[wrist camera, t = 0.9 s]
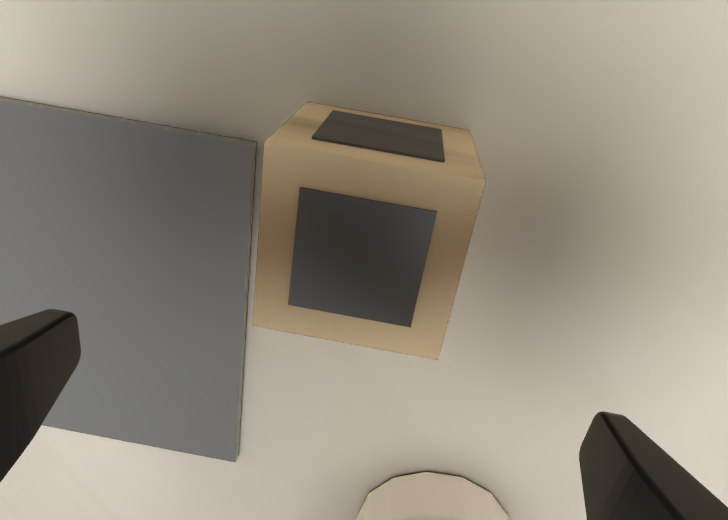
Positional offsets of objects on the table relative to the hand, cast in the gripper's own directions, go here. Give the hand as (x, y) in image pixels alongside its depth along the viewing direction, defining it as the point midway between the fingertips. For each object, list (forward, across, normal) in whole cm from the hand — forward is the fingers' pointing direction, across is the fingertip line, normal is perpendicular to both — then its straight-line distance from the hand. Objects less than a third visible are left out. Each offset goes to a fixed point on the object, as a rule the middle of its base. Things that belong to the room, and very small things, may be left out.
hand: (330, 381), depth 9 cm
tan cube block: (+9, 0, 0) cm, 9 cm away
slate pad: (+9, +9, +6) cm, 14 cm away
